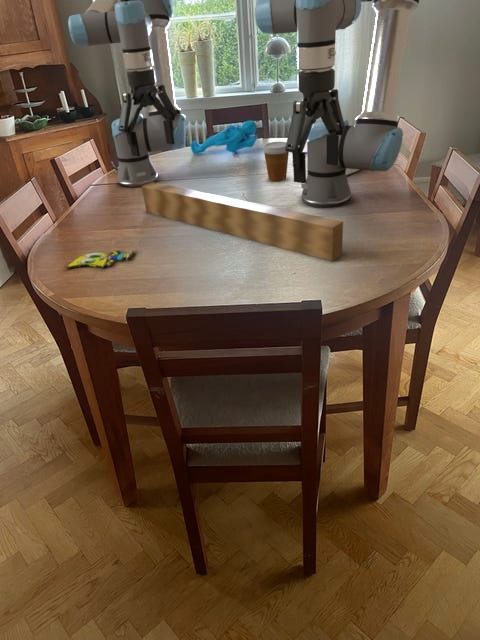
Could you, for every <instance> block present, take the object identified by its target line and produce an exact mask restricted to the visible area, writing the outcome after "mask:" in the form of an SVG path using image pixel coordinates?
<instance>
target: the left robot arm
mask: <svg viewBox="0 0 480 640" xmlns="http://www.w3.org/2000/svg"><path fill="white" fill-rule="evenodd" d="M172 5H173V4H172V0H92V3H91V5H89V7H88V8H87V9H86V11H84V13H77V14H73V15H70V16H69V17H68V20H67V21H68V22H67V24H68V29H69V30H68V31H69V34H70V38H71V40H72V42H73V44H74V45H75V46H77V47H91V46H99V45H100V46H101V45H108V44H109V45H110V44H112V45H113V44H120V45H121V51H122V57H123V63H124V67H125V68H124V69H125V70H127V71H126V78H127V83H128V86H129V88H130V92H122V93H121V109H120V116H119V118H116V119H115V120H113V121H112V122H111V132H112V138H113V142H114V146H115V151H116V156H117V160H118V167H117V166H115V165H114V163H113V160H112V161H111V160H110V161H109V165H110V166H111V167H112V169H114V170H116V171H117V183H118V186H120V187H123V188H124V187H125V188H136V187H137V188H138V187H142V186H143V185H146V184H149V183H151V182H155V183H156V182H157V181H158V180H159V176H158V172H157V169H156V168H155V166H154V163H153V161H152V159H151V156H150V153H152V152H153V153H155V152H165V151H174V150H181V149H183V148H184V147H185V146H186V141H187V121H186V120H187V119H186V115H185V114H183V113H182V112H181V108H179V107H178V105H177V104H176V97H175V88H174V81H173V71H172V64H171V54H170V47H169V39H168V31H167V29H168V28H169V27H170V25H171V18H172V17H174V10H173V6H172ZM149 106H151V107H150V109H149V110H148V112H147V113H148V117H144V116H143V114H142V113H141V111H142V110H143V108H147V107H149Z"/></svg>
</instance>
